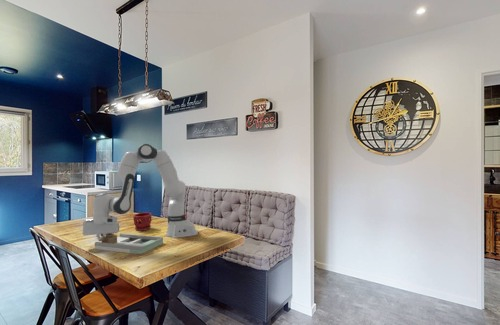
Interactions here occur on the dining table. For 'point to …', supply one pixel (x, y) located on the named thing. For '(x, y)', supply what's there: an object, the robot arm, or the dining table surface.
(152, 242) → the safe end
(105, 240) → the block
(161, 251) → the dining table surface
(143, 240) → the white board with recesses
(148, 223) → the plant pot
